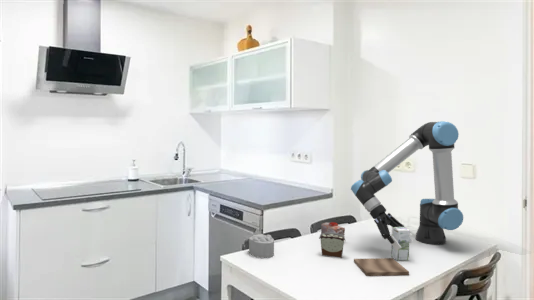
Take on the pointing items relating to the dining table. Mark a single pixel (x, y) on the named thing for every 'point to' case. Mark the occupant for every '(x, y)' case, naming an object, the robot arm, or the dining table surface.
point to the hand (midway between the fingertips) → (405, 245)
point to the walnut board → (380, 267)
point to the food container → (332, 244)
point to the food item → (332, 228)
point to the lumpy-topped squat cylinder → (261, 246)
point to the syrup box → (401, 243)
